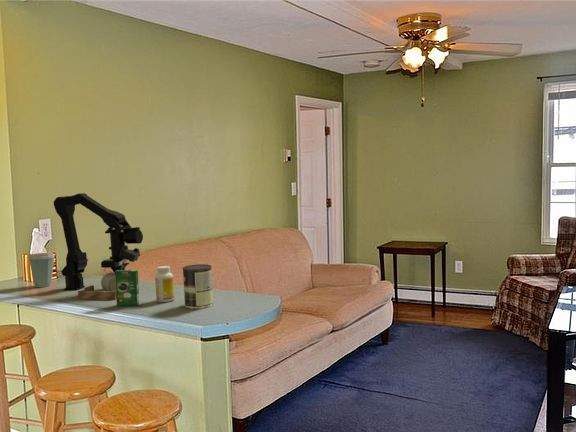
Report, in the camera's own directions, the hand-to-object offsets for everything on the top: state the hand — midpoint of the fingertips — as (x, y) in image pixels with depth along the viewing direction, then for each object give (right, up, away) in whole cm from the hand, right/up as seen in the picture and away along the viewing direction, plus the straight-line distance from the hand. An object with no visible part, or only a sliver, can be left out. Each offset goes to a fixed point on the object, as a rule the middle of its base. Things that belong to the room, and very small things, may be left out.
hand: (120, 280), depth 243 cm
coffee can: (+38, -5, -34) cm, 51 cm away
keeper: (-3, -5, -11) cm, 13 cm away
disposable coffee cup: (-38, -4, +14) cm, 40 cm away
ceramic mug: (0, -4, -5) cm, 6 cm away
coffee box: (+11, -6, -29) cm, 32 cm away
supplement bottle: (+24, -5, -24) cm, 34 cm away
